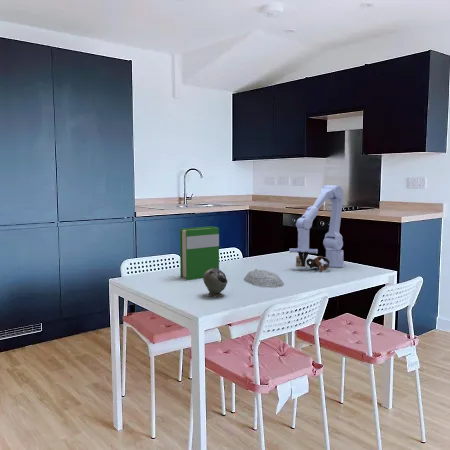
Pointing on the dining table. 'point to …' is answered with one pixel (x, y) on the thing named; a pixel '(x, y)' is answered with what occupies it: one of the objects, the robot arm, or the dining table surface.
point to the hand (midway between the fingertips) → (303, 266)
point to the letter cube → (299, 262)
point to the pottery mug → (318, 263)
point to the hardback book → (198, 251)
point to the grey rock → (263, 279)
